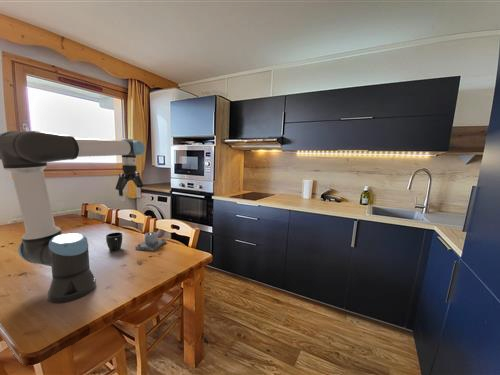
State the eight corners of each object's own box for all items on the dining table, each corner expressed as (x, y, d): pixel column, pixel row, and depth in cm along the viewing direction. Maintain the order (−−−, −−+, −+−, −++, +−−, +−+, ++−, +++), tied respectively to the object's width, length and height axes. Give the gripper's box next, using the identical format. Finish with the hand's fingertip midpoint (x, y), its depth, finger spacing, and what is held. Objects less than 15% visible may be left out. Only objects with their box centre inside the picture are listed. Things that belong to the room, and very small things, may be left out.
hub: (153, 245, 129) (152, 236, 128) (142, 244, 130) (142, 235, 129) (159, 241, 136) (159, 232, 135) (149, 240, 137) (149, 231, 136)
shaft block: (153, 251, 125) (153, 238, 124) (135, 249, 127) (134, 236, 126) (166, 242, 139) (165, 230, 138) (149, 240, 141) (149, 229, 140)
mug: (108, 256, 117) (106, 240, 116) (106, 248, 127) (105, 233, 126) (124, 252, 122) (123, 237, 121) (122, 245, 132) (121, 231, 131)
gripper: (118, 165, 113) (120, 203, 116) (148, 164, 138) (149, 196, 140) (106, 164, 115) (108, 202, 117) (138, 164, 139) (139, 195, 142)
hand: (130, 199), depth 129 cm, fingers open, 13 cm apart
